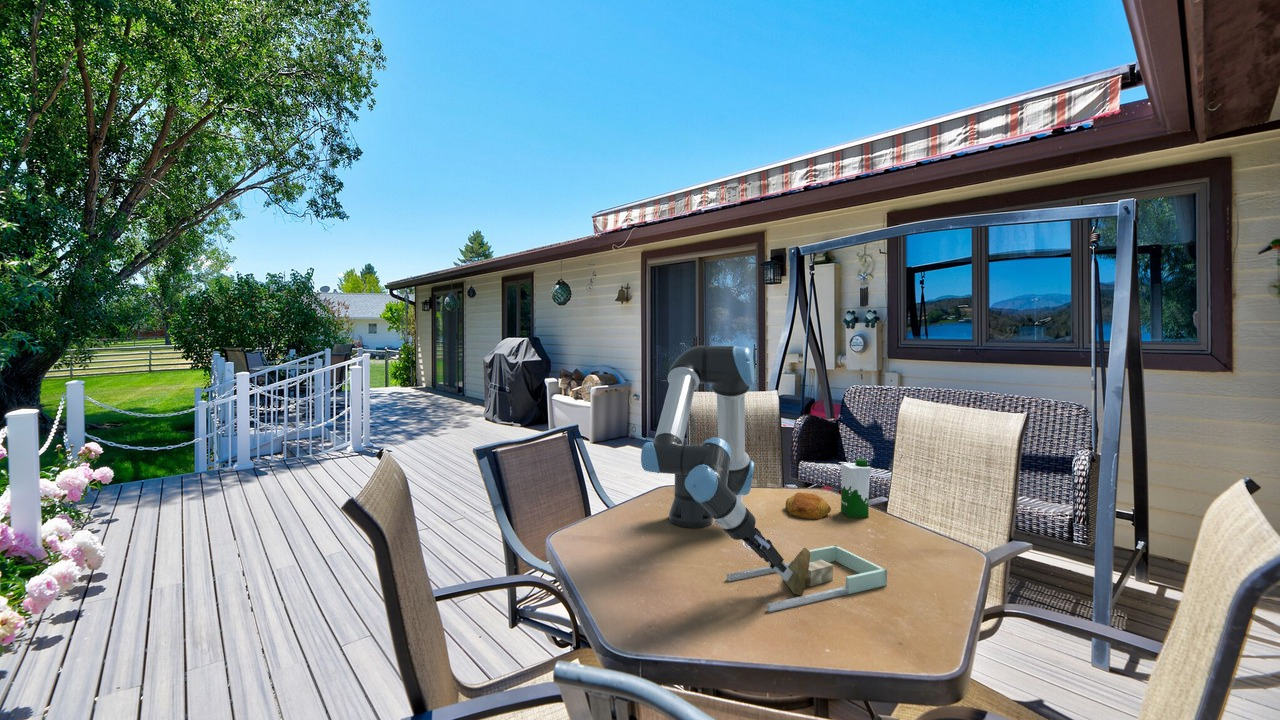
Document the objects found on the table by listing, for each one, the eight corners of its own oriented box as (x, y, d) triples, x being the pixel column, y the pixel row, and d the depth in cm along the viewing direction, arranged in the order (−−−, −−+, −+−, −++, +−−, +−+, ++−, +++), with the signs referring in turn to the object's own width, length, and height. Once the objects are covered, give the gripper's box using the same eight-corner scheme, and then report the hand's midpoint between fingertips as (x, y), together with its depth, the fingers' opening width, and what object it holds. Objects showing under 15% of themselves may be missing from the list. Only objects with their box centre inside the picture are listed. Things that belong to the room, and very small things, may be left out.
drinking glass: (746, 503, 209) (747, 477, 209) (737, 506, 205) (737, 480, 204) (731, 499, 214) (732, 474, 214) (722, 502, 209) (722, 477, 209)
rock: (812, 593, 131) (825, 575, 138) (794, 561, 133) (807, 545, 140) (778, 604, 137) (792, 586, 144) (761, 574, 138) (775, 558, 146)
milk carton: (872, 518, 194) (874, 462, 193) (847, 518, 193) (849, 462, 192) (860, 510, 203) (862, 457, 202) (836, 510, 202) (838, 457, 201)
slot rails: (769, 612, 125) (769, 605, 125) (726, 580, 142) (726, 574, 142) (848, 594, 135) (848, 588, 135) (799, 565, 152) (799, 560, 152)
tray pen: (848, 594, 135) (848, 578, 135) (799, 565, 152) (800, 551, 151) (886, 585, 140) (887, 570, 140) (835, 559, 157) (835, 545, 157)
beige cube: (822, 583, 141) (822, 567, 141) (810, 577, 144) (810, 562, 144) (832, 579, 143) (833, 565, 143) (820, 574, 146) (821, 559, 146)
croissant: (793, 510, 209) (791, 489, 209) (835, 513, 199) (832, 490, 200) (778, 519, 197) (776, 496, 197) (822, 522, 188) (819, 498, 188)
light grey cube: (810, 586, 139) (811, 570, 139) (798, 580, 143) (799, 565, 142) (821, 583, 141) (822, 567, 141) (809, 577, 145) (810, 562, 144)
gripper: (709, 521, 135) (763, 577, 142) (739, 539, 123) (796, 599, 130) (728, 497, 137) (780, 554, 144) (760, 513, 125) (814, 574, 132)
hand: (788, 576), depth 137 cm, fingers closed
